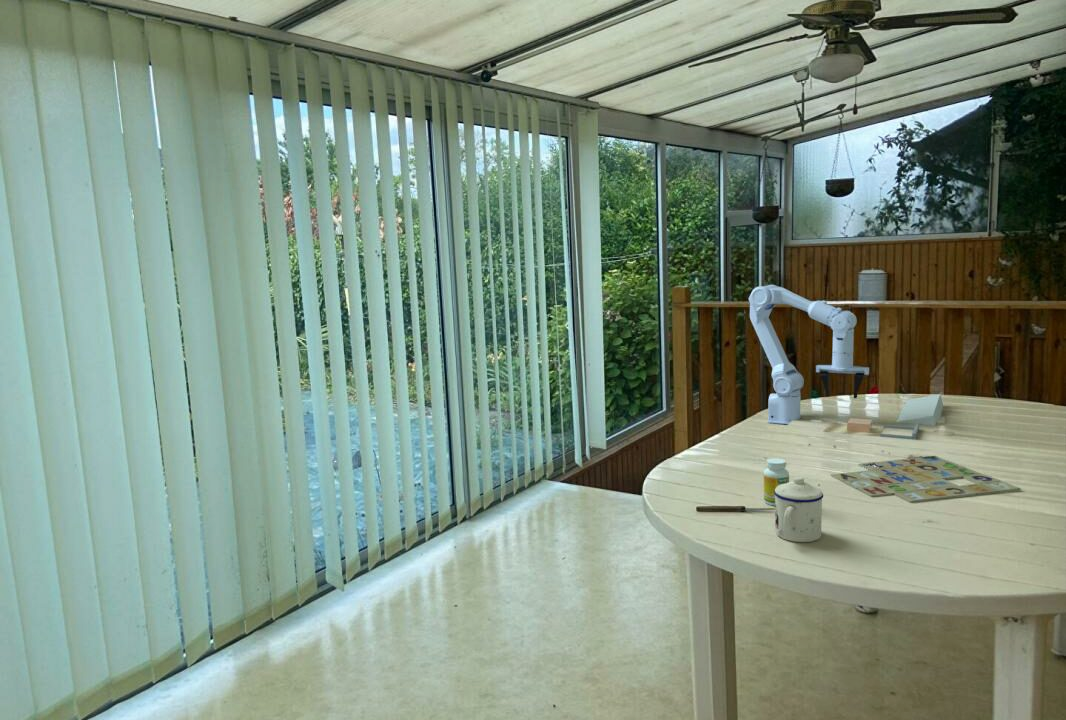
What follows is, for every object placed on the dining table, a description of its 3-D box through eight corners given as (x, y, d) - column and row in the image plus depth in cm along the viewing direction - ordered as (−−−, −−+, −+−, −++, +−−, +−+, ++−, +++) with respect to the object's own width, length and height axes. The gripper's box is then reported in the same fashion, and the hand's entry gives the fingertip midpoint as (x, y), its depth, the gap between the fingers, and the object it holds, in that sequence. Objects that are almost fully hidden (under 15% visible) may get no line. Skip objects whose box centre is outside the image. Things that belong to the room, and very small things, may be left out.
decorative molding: (900, 437, 224) (937, 431, 218) (896, 422, 224) (932, 416, 218) (911, 413, 252) (944, 407, 247) (907, 399, 252) (940, 394, 247)
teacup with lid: (782, 522, 153) (782, 468, 152) (827, 531, 148) (829, 474, 146) (762, 542, 144) (762, 485, 142) (810, 552, 139) (811, 492, 137)
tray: (879, 441, 209) (879, 430, 209) (884, 431, 220) (884, 421, 219) (915, 444, 205) (915, 433, 204) (918, 434, 215) (919, 423, 214)
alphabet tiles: (934, 459, 193) (934, 454, 193) (1021, 493, 166) (1021, 487, 166) (817, 471, 188) (817, 466, 187) (887, 508, 161) (887, 502, 160)
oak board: (823, 436, 217) (823, 431, 217) (830, 427, 227) (830, 422, 227) (879, 441, 209) (879, 436, 209) (884, 431, 220) (884, 426, 219)
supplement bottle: (773, 496, 169) (774, 455, 168) (794, 502, 165) (794, 460, 163) (758, 502, 166) (758, 460, 164) (778, 508, 162) (779, 465, 160)
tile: (846, 430, 216) (847, 422, 216) (850, 426, 221) (850, 418, 221) (869, 432, 213) (869, 424, 213) (872, 428, 218) (872, 419, 218)
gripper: (814, 353, 222) (813, 397, 224) (867, 355, 214) (866, 401, 216) (818, 349, 228) (818, 393, 230) (870, 351, 220) (869, 396, 222)
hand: (841, 396), depth 223 cm, fingers open, 7 cm apart
